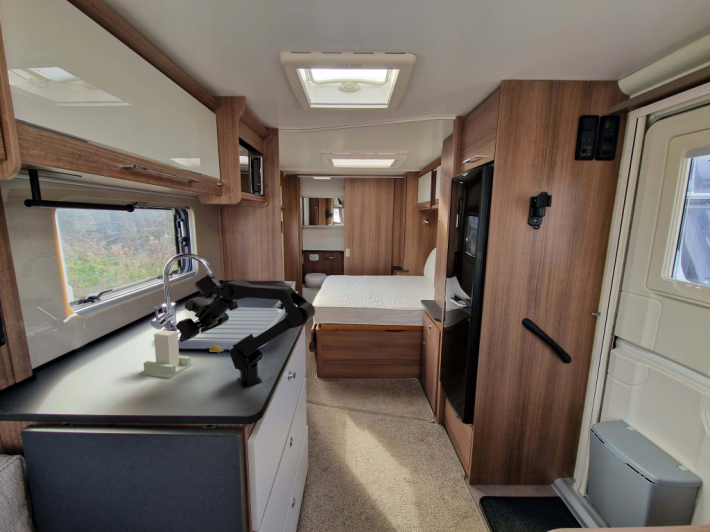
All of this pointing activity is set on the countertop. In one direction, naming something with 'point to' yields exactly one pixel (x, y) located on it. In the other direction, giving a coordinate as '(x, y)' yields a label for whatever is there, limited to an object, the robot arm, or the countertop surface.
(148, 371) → the tile rack
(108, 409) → the countertop surface
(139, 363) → the countertop surface
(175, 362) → the beige rectangular box
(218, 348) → the bread roll
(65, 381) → the countertop surface
